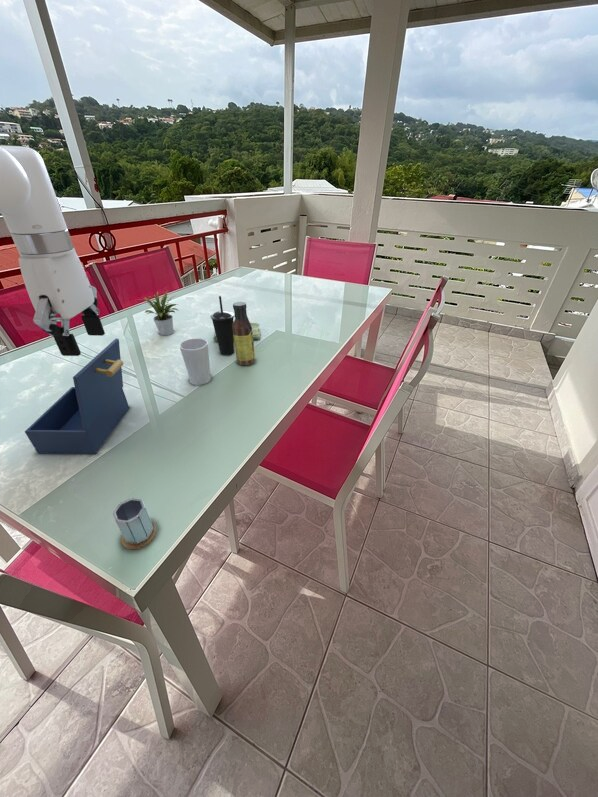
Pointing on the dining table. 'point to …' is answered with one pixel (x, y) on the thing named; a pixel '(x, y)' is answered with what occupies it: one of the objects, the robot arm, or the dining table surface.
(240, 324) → the sauce bottle
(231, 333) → the drinking cup
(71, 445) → the chest
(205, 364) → the cup
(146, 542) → the coaster
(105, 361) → the lid
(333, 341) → the dining table surface
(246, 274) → the dining table surface
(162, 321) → the house plant
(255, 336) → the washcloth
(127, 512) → the tumbler
